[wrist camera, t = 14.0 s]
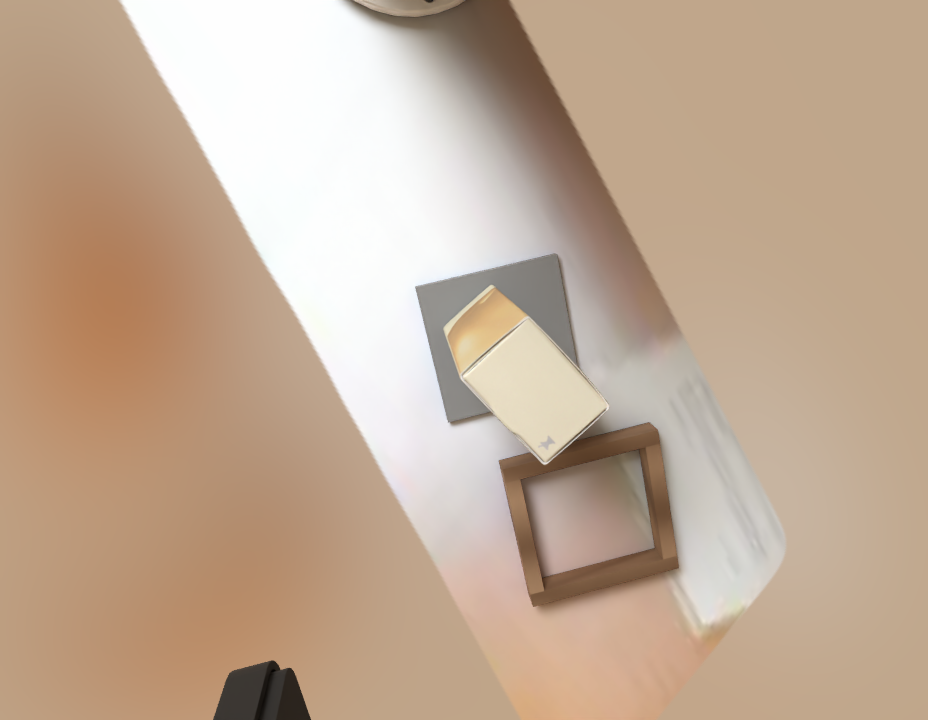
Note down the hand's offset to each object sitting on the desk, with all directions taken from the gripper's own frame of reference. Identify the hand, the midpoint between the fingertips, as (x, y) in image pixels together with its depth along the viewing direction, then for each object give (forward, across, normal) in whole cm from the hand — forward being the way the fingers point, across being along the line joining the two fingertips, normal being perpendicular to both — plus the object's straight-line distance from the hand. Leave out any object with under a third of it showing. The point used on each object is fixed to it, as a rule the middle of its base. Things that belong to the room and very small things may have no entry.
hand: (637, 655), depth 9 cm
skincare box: (+33, -3, +3) cm, 33 cm away
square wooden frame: (+33, -6, +17) cm, 38 cm away
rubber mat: (+33, -3, +4) cm, 34 cm away
